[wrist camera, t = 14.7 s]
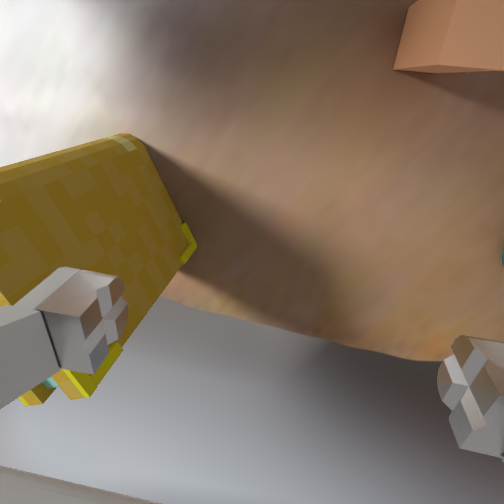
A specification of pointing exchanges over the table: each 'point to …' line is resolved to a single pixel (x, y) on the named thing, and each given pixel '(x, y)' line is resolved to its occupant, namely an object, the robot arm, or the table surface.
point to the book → (90, 234)
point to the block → (452, 37)
